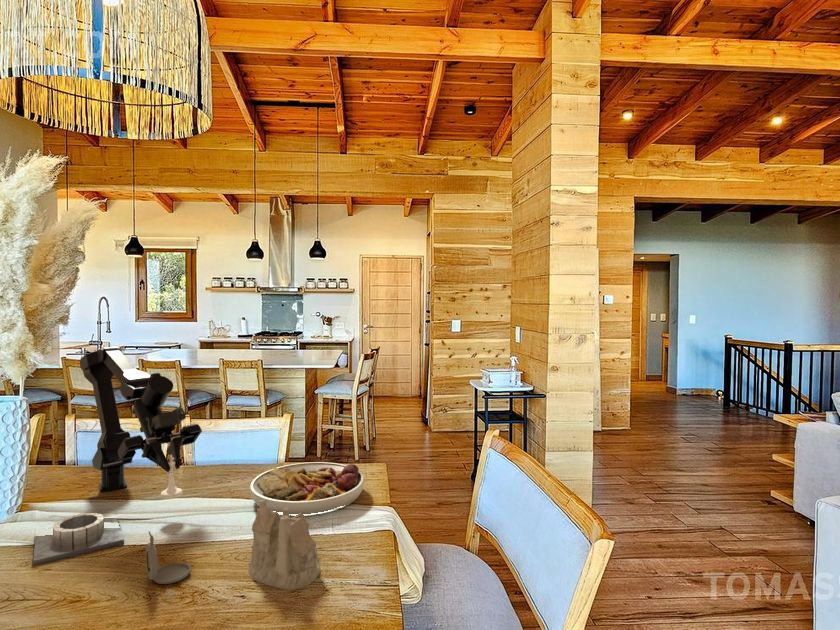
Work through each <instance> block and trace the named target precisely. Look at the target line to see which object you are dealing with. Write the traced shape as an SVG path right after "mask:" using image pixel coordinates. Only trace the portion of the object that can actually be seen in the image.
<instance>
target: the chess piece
mask: <svg viewBox="0 0 840 630" xmlns="http://www.w3.org/2000/svg"><path fill="white" fill-rule="evenodd" d="M169 456H170V457H169ZM167 459H168V460H169V461H168V464H169V467H170V471H169V472H167V471H166V475H168V482H167V484H168V485H167V487H166V488H165V489H164V490H162V491H161V492H160V498H161V499H167V500H168V499H175V498H178V497H180V496H181V495H183V493H184V492H183V489H182V488H180V487H177V486H176V483H175V478H174V474H176V473H177V471H176V470H175V463H176V462H175V461H172V460H174V457H172V455H168V457H167Z"/></svg>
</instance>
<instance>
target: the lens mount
mask: <svg viewBox="0 0 840 630" xmlns="http://www.w3.org/2000/svg"><path fill="white" fill-rule="evenodd" d="M104 522H111V523H114V522H119V523H120V520H116V519H104V515H103V514H101V513H99V512H85V513H79V514H73V515H70V516H67V517H65V518H62V519H60V520H58V521H57V522H55V523H54V524H53V525H52V527H53V535H45V536H35V538H34V548H33V564H32V566H37V565H42V564H45V563H50V562H55V561H58V560H63V559H67V558H71V557H74V556H80V555H83V554H87V553H88V554H89V553H92V552H97V551H100V550H101V551H102V550H105V549H109V548H112V547H113V548H114V547H118V546H121V545H124V544H125V538H124V534H123V531H122V528H104Z"/></svg>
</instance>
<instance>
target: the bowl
mask: <svg viewBox="0 0 840 630" xmlns="http://www.w3.org/2000/svg"><path fill="white" fill-rule="evenodd" d="M364 483H365V477H364V475H363V473H362V472H361V470H359V467H358V466H357V465H356V464H353V463H351V464H347V465H346V464H342V463H337V462H326V461H325V462H324V461H314V462H311V461H310V462H298V463H290V464H286V465H282V466H278V467H274V468H271V469H268V470H266V471H264V472H262V473H260V474H258V475H257V476H255V478H254V479H253V480H252V481H251V483H250V488H249V489H250V496H251V498H252V501H253V502H254V503H255V504H256V505H257V506H258V507H259V508H260V501H261V500H262V499H265V500H266V505H269V508H270V510H271V511H276V512H283V509H284V508H288V509H289V514H299V513H301V514H311V513H318V512H324V511H328V510H331V509H334V508H337V507H340V506H344V505H347V506H349V505H350V504H352V503H354V501H356V499H358V498H359V496H360V494H361V493H362V491H363V489H364Z"/></svg>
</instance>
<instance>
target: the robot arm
mask: <svg viewBox="0 0 840 630" xmlns="http://www.w3.org/2000/svg"><path fill="white" fill-rule="evenodd" d="M79 366H80V367H79V368H80V369H81V370H82V373H83V378H85V379H86V380H87V381H88V382H89V383H90V384H91V385H92V389H93V393H94V398H95V404H96V410H97V415H98V419H99V425H100V426H99V427H100V430H101V431H100V432H101V434H100V437H99V439H98V441H97V444H96V446H97V447H96V448H97V450H96V452H95V453H94V456H93V458H92V459H91V462H92V468H93V469H95V470H97V471H100V483H98V487H99V491H100V492H107V491H108V492H109V491H113V490H120V489H124V488H127V487H128V484H127V481H126V479H125V465H127V464H132V463H133V458H134V456H135V455H136V454H137V450H141V451H142V454H141V459H144V458H146V459H148V460H149V461H151V462H152V463H154V464H156V465H157V466H159V467H160V468H161V469H162V470H164V471H165V472H166V473H167V472H169V471H170V467H169V464H168V462H169V461H168V460H167V459H168V458H167V457H166V455H165V453H164V451H163V449H162V445H163V444H164V445H165V444H166V445H167V446H168V447H167V449H166V453H167V455H168V457H170V456H169V455H172V457H174V460H172V461H175V462H176V463H175V466H174V469H176V470H179V469H180V467H181V463H180V462H181V461H180V460H181V457H180V456H181V455H180V452H181V451H180V450H181V446H186V445H191V444H194V443H195V442H196V441H197V439H198V438H199V436H200V434H201V433H202V432H203V430H202V428H201V426H200V425H199V424H197V423H192V424H186V425H183V426H182V428H180V431H179V432H174V431H175V430H176V425H179V424H181V422H183V421H184V420H185V419H186V418H187V417H186V412H185V410H184V407H183V406H182V407H178V408H175V409H172V411H167V412H163V409H162V406H163V405H164V404H165V403H166V401H167V399H168V398H169V396H170V394H171V393H172V391H173V389H174V382H173V381H172V380H170V378H169V377H166V376H164V375H163V376H162V375H161V373H160V372H155V373H154V372H153V373H151V374H149V373H147V372H145V371H142V370H138V369H137V368H136V367H135V366H134V364H132V363H131V361H130V360H129V359H128V358H127V357H126V356H125V355H124V353H123V351H122V348H121V347H118V346H109V347H108V346H107V347H101V348H99V349H97V350H95V351H93V352H88V353H85V354H84V355H83V356H82V357H80V360H79ZM113 377H116V379H117V380H118V381H119V382H120V388H119V391H120V394H121V396H122V397H123V398H124V399H125V400H127V401H133V400H136V401H135V402H134V403H133V406H132V410H131V413H132V415H135V416H136V417H137V419H138V422H139V424H140V428H139V432H140V433H143V434H144V436H145V438H143V435H140V434H139V435H134V436H131V433H129V431H125V430H124V429H123V428H122V426H121V422H120V418H119V417H120V416H119V413H118V412H119V411H118V406H117V402H116V396H115V391H114V386H113V381H112V378H113ZM173 432H174V433H173Z"/></svg>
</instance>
